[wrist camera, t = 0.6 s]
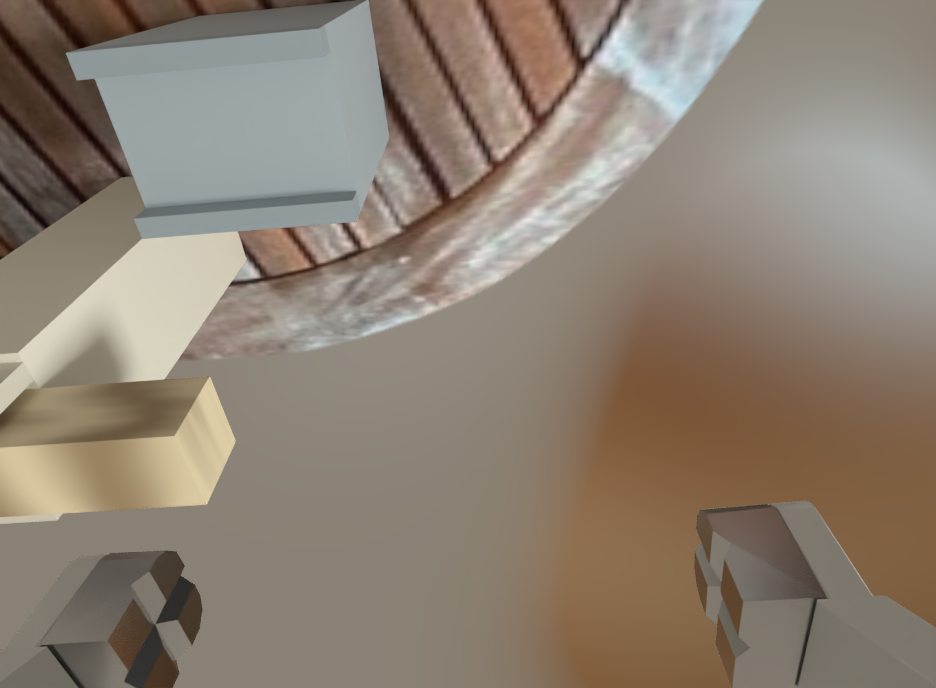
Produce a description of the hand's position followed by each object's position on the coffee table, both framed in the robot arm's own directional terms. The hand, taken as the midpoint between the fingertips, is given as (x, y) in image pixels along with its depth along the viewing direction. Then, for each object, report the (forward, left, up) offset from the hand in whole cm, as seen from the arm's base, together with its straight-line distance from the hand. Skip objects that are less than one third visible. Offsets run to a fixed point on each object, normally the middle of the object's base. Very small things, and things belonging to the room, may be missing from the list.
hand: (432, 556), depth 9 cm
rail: (+16, -17, -16) cm, 29 cm away
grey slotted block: (+4, -11, -42) cm, 44 cm away
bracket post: (+17, -19, -42) cm, 49 cm away
